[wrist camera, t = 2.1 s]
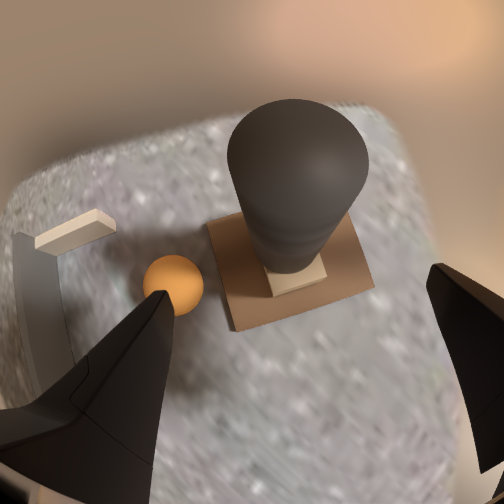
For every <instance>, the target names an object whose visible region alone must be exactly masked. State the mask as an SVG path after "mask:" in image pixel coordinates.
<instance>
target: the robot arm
mask: <svg viewBox="0 0 504 504" xmlns="http://www.w3.org/2000/svg"><path fill="white" fill-rule="evenodd" d="M426 288H427V292H428V295H429V298H430V301H431V304H432V307H433V310H434V313H435V316H436V320H437V323H438V326H439V328H440V331H441V333H442V336H443V338H444V341H445V344H446V346H447V349H448V352H449V354H450V357H451V360H452V363H453V366H454V369H455V371H456V374H457V378H458V381H459V384H460V387H461V390H462V394H463V397H464V400H465V404H466V408H467V411H468V415H469V419H470V423H471V428H472V432H473V437H474V441H475V446H476V451H477V456H478V462H479V469H480V473H481V474H482V473H484V472H486V471H488V470H489V469H491V468H493V467H494V466H496V465H498V464H499V463H501V462H503V461H504V299H503V298H502V297H500V296H498V295H497V294H495V293H494V292H492V291H490V290H489V289H487V288H485V287H484V286H482V285H480V284H479V283H477V282H475V281H474V280H472V279H470V278H469V277H467V276H465V275H463V274H462V273H460V272H458V271H456V270H454V269H453V268H451V267H449V266H447V265H445V264H444V263H437V264H433V265H432V266H431V268H430V272H429V275H428V279H427V282H426ZM174 316H175V311H174V307H173V304H172V301H171V299H170V296H169V293H168V292H167V291H166V290H155V291H153V292H152V293H151V294H150V295H149V296H148V297H147V298H146V299H145V300H144V301H142V302H141V303H140V304H139V305H138V306H137V307H136V308H135V309H134V310H133V311H132V312H131V313H129V314H128V315H127V316H126V317H125V318H124V319H123V320H122V321H121V322H120V323H119V324H118V325H117V326H116V327H115V328H113V329H112V330H111V331H110V332H109V333H108V334H107V335H106V336H105V337H104V338H103V339H102V340H101V341H100V342H99V343H98V344H97V345H96V346H95V347H94V348H92V349H91V350H90V351H89V352H88V354H87V355H85V356H84V357H83V358H82V359H81V360H80V361H79V362H78V363H77V364H76V365H75V366H74V367H73V368H72V369H71V370H70V371H68V372H67V373H66V374H65V375H64V376H63V377H62V378H60V379H59V380H58V381H57V382H56V383H54V384H53V385H52V386H51V387H50V388H49V389H47V390H46V391H45V392H44V393H43V394H41V395H40V396H39V397H38V398H37V399H35V400H34V401H33V402H31V403H30V404H28V405H26V406H23V407H20V408H13V409H3V410H0V504H149V497H150V487H151V479H152V470H153V467H152V466H153V461H154V454H155V447H156V440H157V433H158V426H159V420H160V414H161V408H162V402H163V396H164V390H165V385H166V379H167V374H168V369H169V363H170V358H171V351H172V339H173V327H174ZM485 504H504V471H503V474H502V476H501V479H500V481H499V484H498V486H497V488H496V491H495V493H494V495H493V497H492V500H490V501H489V502H487V503H485Z"/></svg>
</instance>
